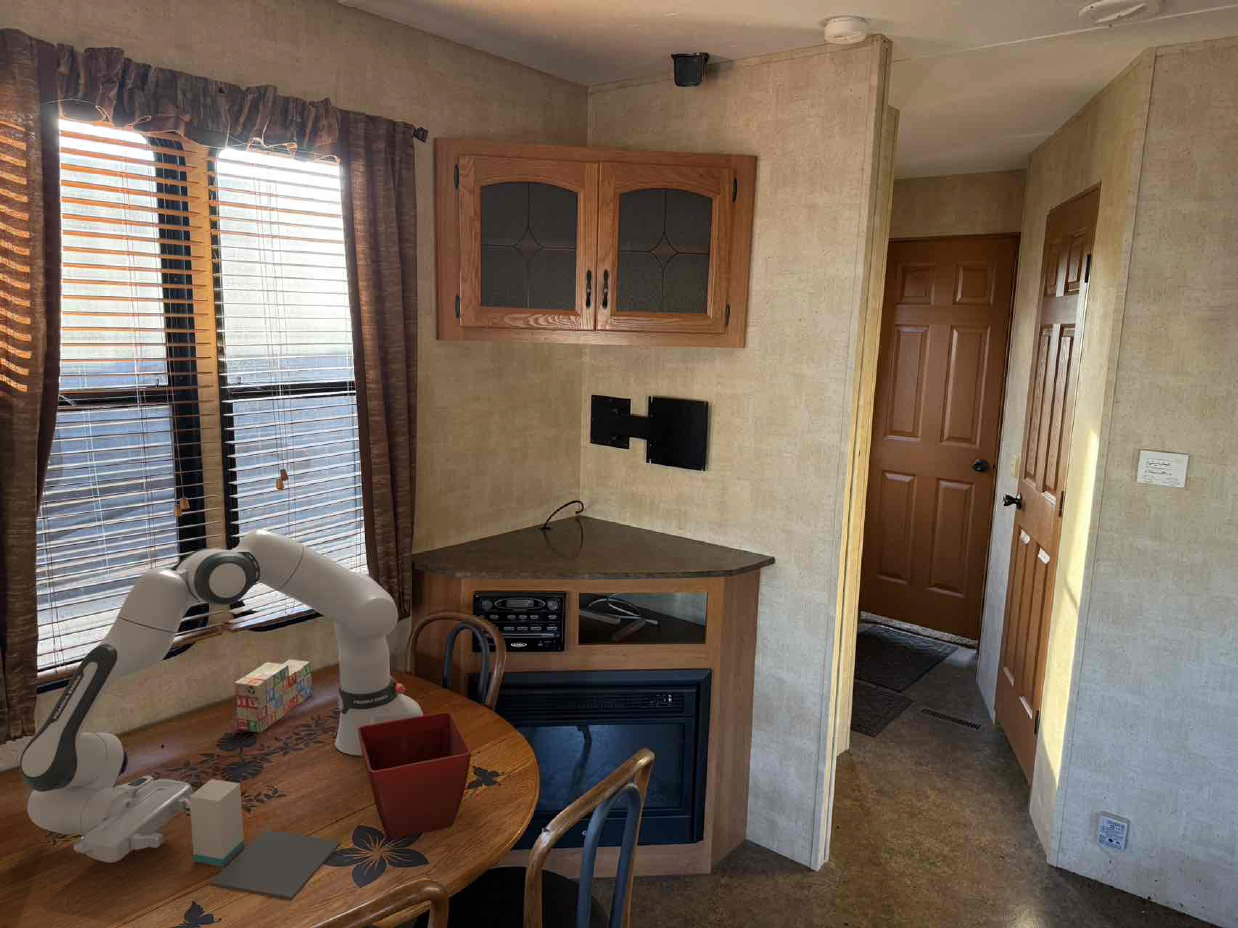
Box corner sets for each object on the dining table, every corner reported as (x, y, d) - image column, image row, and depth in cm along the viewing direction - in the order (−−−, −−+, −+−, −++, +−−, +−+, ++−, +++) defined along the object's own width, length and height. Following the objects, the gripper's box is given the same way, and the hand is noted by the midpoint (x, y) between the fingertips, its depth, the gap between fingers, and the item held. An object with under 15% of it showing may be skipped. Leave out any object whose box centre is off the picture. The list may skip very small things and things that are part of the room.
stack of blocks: (291, 692, 228) (289, 647, 225) (312, 695, 226) (310, 650, 224) (237, 729, 207) (234, 681, 205) (260, 733, 206) (257, 684, 204)
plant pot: (359, 801, 179) (357, 725, 176) (452, 783, 186) (450, 709, 183) (372, 855, 161) (369, 772, 158) (473, 832, 169) (472, 752, 166)
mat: (209, 884, 152) (209, 882, 152) (264, 831, 168) (264, 829, 168) (291, 899, 149) (291, 896, 149) (340, 844, 164) (340, 841, 164)
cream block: (215, 841, 164) (211, 779, 162) (243, 846, 163) (239, 783, 161) (194, 861, 159) (189, 796, 156) (223, 866, 157) (218, 801, 155)
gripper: (64, 832, 148) (134, 844, 146) (152, 770, 168) (215, 779, 165) (68, 865, 150) (137, 877, 147) (154, 800, 169) (217, 810, 166)
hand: (179, 825), depth 156 cm, fingers open, 8 cm apart
